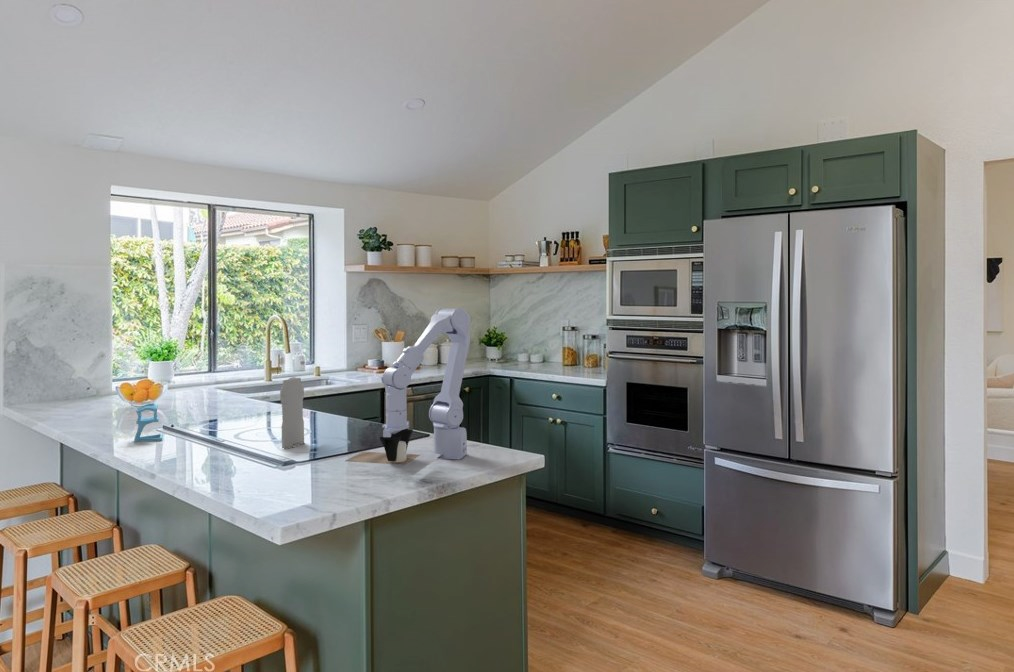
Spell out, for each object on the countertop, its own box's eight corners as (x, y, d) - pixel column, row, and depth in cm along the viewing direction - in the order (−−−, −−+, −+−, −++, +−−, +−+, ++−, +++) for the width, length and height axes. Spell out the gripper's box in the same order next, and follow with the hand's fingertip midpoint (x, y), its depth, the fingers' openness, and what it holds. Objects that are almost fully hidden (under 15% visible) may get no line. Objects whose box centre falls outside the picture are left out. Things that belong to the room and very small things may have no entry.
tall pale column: (287, 449, 219) (285, 379, 218) (276, 448, 221) (275, 378, 219) (309, 443, 229) (308, 375, 228) (299, 442, 230) (298, 375, 229)
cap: (408, 458, 201) (408, 441, 200) (401, 462, 196) (401, 445, 195) (392, 457, 202) (391, 440, 201) (385, 461, 197) (384, 444, 197)
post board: (420, 459, 206) (420, 441, 205) (405, 469, 194) (404, 449, 194) (362, 456, 210) (362, 438, 209) (344, 466, 198) (344, 446, 198)
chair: (135, 438, 236) (133, 403, 236) (162, 436, 240) (161, 401, 239) (133, 443, 229) (132, 406, 229) (162, 440, 233) (160, 404, 232)
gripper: (392, 405, 206) (393, 451, 207) (372, 413, 192) (373, 463, 193) (415, 406, 204) (416, 452, 205) (396, 414, 190) (397, 464, 191)
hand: (396, 457), depth 199 cm, fingers open, 7 cm apart
